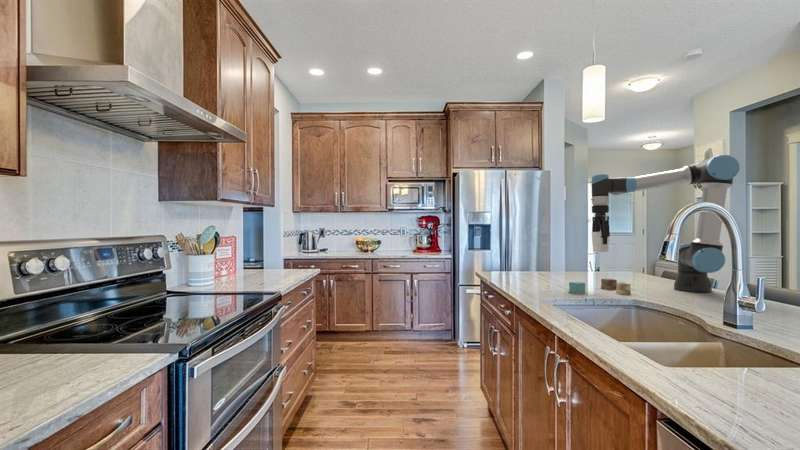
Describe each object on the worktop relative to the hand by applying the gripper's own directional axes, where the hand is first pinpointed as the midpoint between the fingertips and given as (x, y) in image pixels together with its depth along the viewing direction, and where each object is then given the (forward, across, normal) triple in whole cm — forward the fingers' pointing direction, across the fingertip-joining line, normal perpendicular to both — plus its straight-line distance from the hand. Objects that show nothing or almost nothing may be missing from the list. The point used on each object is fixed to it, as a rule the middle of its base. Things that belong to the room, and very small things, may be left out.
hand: (600, 250), depth 190 cm
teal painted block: (+20, +7, -14) cm, 26 cm away
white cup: (+1, 0, 0) cm, 1 cm away
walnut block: (+20, -5, +6) cm, 22 cm away
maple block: (+20, +8, +7) cm, 23 cm away
